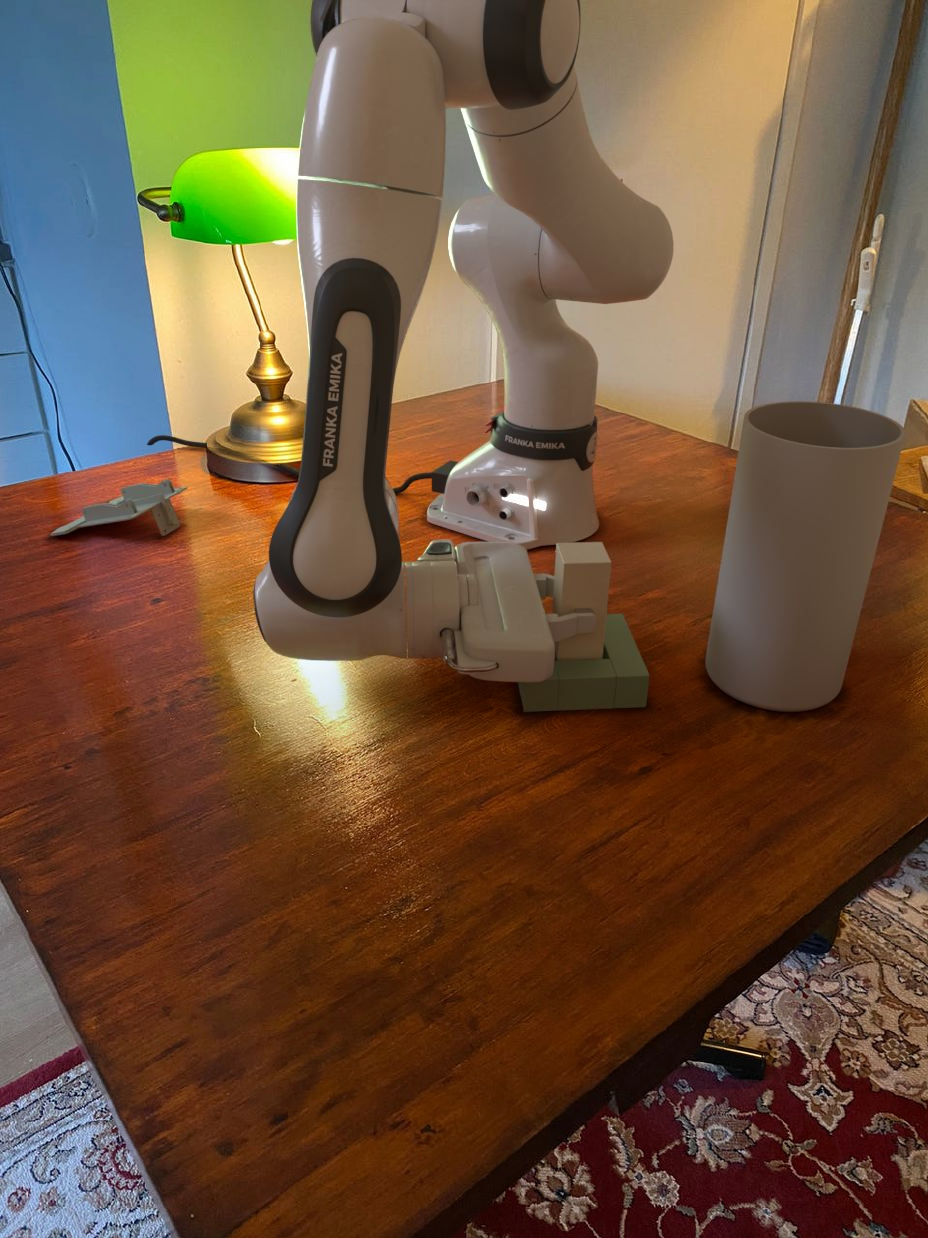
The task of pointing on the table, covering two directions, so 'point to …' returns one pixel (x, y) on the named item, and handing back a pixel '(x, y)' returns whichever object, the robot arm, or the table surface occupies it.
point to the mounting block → (594, 677)
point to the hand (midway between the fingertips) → (589, 604)
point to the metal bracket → (132, 508)
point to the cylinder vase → (799, 550)
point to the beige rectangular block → (581, 595)
